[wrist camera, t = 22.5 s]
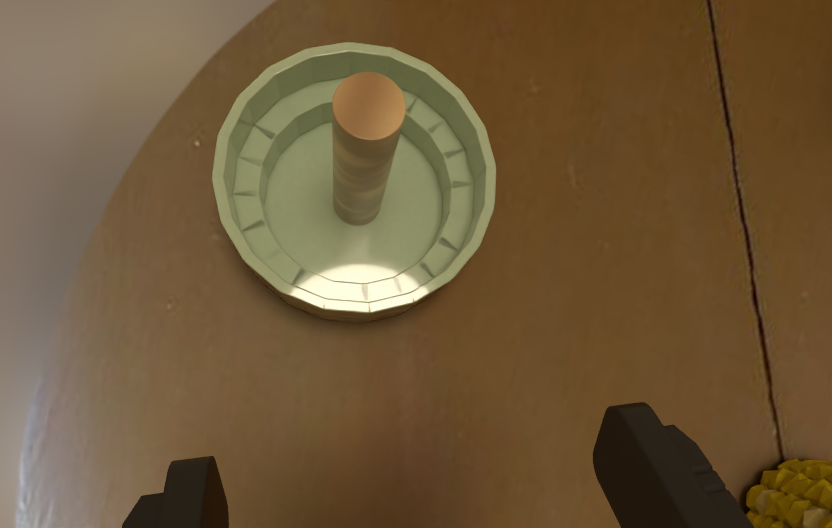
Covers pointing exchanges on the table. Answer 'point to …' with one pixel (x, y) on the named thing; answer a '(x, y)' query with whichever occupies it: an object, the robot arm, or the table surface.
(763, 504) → the food
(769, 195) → the table surface
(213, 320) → the table surface
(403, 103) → the stick
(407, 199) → the bowl
